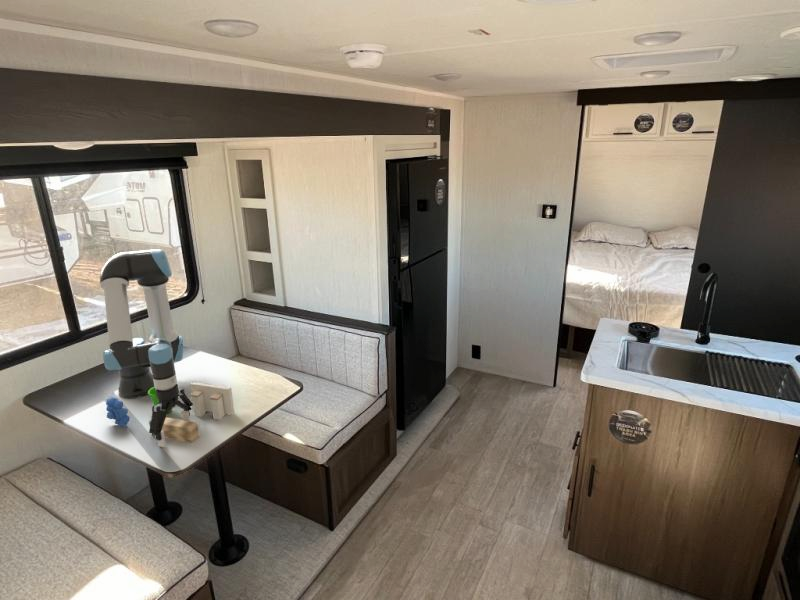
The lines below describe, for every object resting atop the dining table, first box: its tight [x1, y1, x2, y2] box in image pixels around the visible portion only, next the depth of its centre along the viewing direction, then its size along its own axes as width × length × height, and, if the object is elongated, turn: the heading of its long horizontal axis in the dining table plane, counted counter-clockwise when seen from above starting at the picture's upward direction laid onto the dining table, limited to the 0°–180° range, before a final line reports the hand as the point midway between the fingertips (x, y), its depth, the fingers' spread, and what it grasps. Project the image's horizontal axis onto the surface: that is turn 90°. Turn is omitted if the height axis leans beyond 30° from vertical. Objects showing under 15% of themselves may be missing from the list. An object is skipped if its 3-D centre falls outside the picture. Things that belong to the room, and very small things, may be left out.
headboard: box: [189, 381, 235, 420], centre depth 187 cm, size 18×6×12 cm, turn 76°
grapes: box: [105, 396, 131, 427], centre depth 179 cm, size 12×7×12 cm, turn 63°
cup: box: [147, 387, 173, 416], centre depth 187 cm, size 9×9×11 cm
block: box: [148, 416, 200, 443], centre depth 174 cm, size 18×4×6 cm, turn 75°
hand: (175, 435), depth 174 cm, fingers open, 13 cm apart
